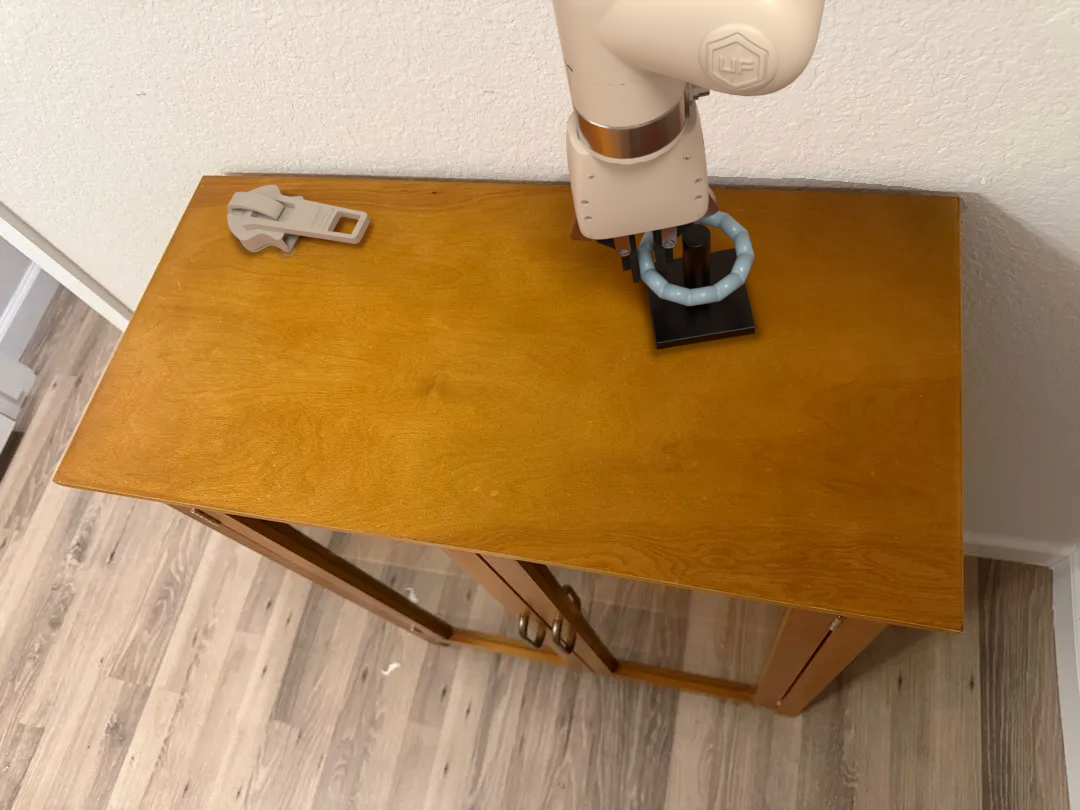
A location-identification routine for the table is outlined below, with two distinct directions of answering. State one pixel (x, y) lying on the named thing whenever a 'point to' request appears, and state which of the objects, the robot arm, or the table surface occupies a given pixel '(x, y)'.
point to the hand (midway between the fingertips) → (647, 266)
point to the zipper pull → (286, 219)
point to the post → (703, 320)
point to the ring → (704, 293)
